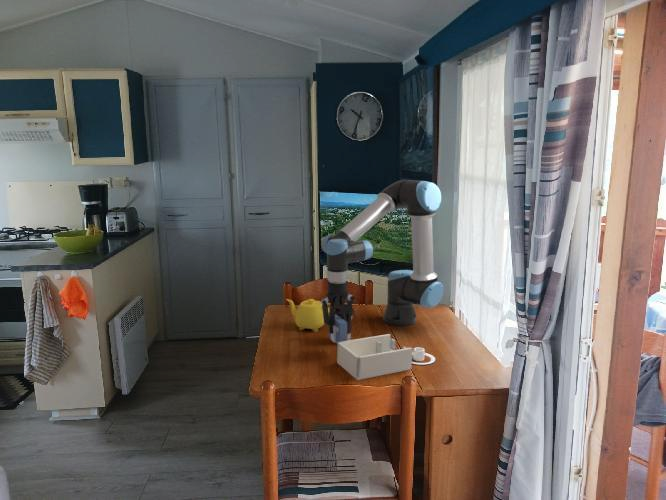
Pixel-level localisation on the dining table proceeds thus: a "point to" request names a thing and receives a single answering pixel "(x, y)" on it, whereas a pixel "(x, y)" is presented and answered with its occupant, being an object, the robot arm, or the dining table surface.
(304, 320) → the teapot
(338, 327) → the blue flat block
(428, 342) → the dining table surface
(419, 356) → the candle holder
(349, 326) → the coffee cup
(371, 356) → the box
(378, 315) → the dining table surface
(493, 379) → the dining table surface
